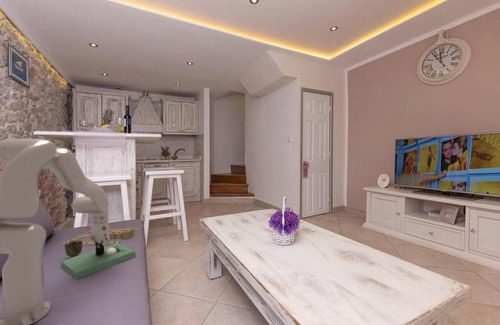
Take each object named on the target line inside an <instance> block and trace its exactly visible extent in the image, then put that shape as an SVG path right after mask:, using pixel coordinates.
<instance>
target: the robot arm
mask: <svg viewBox="0 0 500 325" xmlns="http://www.w3.org/2000/svg"><path fill="white" fill-rule="evenodd" d="M0 161H1V162H3V163H6V165H5V166H4V168H3V169H2V171H1V173H0V254H4V255H6V254H7V255H8V258H7V259H6V261H5V262H4V264H3V267H2V270H1V277H2V297H3V298H2V299H3V316H1V317H0V325H30V324H31V325H32V324H35V323H36V322H39V320H41V319H43V318H44V317H45V316H46V315H48V314H49V312H50V310H51V306H52V305H51V303H50V302H49V301H47V300H45V276H44V271H45V270H44V251H45V250H44V249H45V244H46V241H47V231H46V229H45V228H44V227H43V226H42V225H40V224H38V223H33V222H10V221H26V220H28V219H31V218H34V217H35V216H36V215H37V213H38V211H39V204H40V203H39V202H40V201H39V186H38V185H39V184H38V183H39V182H38V181H39V174H40V172H41V170H51V171H52V172H53V174H54V175H55V177H56V178H57V179H58V181H59V183H60V185H61V187H63V188H64V189H67V190H69V191H71V192H75V193H78V194H81V195H84V196H80V197H77V198H75V199H74V200H73V201H72V202H71V210H72V211H73V212H75V213H77V214H89V222H90V231H91V237H90V238H91V240H92V242H94V241H95V245H94V246H95V250H96V255H97V256H100V255H103V254H104V247H106V246H107V245H106V242H107V241H111V240H110V233H109V229H110V225H109V205H110V204H109V202H110V201H109V198H108V197H109V196H108V195H107V193H105V190H104V189H103V188H102V187H101V186H100V185H98V184H97V183H96V182H94V181H93V180H92V179H90V178H88V177H87V176H86V175H85V174H84V171H83V170H82V167H81V166H80V164H79V162H78V160H77V158H76V156H75V155H74V153H73V152H72V151H71V150H70V149H69V148H68V149H67V148H63V147H57V146H56V144H55V143H54V142H53V141H51V140H48V139H44V138H43V139H42V138H6V139H2V140H0Z"/></svg>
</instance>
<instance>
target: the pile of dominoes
mask: <svg viewBox="0 0 500 325" xmlns="http://www.w3.org/2000/svg"><path fill="white" fill-rule="evenodd" d="M110 229H111V230H110ZM115 229H116V230H115ZM139 230H140V228H138V227H136V228H134V227H126V228H109V233H110V239H114V240H109V241H107V240H106V245H105V246H110V245H113V244H116V243H120V244H121V240H122V239H127V240H130V239H129V238H130V237H131V238H132V237H134V233H135V232H138V231H139ZM82 238H91V230H89V231H86V232H84V234H78V235H77V236H75V237H73V238H71V239H69V240H66V241H65V242H63V243H61V245H60V246H61V247H62V246H64V244H66V243H67V244H69V242H72V241H76V242H77V240H78V241H80V240H81V239H82ZM116 239H121V240H116ZM82 246H95V241H83V244H82ZM64 247H65V246H64Z"/></svg>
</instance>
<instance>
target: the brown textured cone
mask: <svg viewBox="0 0 500 325" xmlns="http://www.w3.org/2000/svg"><path fill="white" fill-rule="evenodd" d="M83 242H84V241H82V240H77V241H72V242H69V244H67V243H66V244H64V251H65V255H66V256H67V257H69V258H72V257H76V256H79V255H81V252H82V249H83V245H82V244H83Z"/></svg>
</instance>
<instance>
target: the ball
mask: <svg viewBox="0 0 500 325" xmlns="http://www.w3.org/2000/svg"><path fill="white" fill-rule="evenodd" d="M115 253H117V251H116V249H115V248H109V249H108V250H107V251H106V253H105V254H107V255H112V254H115Z"/></svg>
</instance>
